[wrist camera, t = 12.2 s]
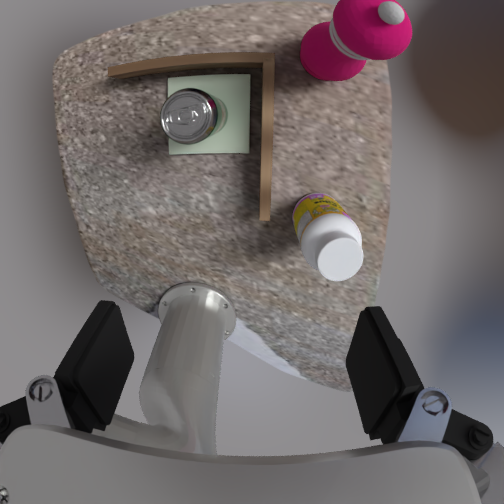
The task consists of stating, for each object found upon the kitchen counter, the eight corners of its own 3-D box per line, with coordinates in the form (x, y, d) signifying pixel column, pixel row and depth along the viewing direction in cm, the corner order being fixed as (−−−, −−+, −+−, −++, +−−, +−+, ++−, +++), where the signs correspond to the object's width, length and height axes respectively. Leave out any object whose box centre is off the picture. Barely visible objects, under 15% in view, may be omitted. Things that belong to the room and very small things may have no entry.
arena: (268, 210, 38) (269, 220, 34) (129, 210, 38) (117, 220, 34) (272, 59, 29) (274, 53, 26) (121, 70, 29) (108, 67, 25)
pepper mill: (342, 29, 27) (419, -30, 9) (359, 79, 30) (455, 60, 12) (288, 37, 28) (324, -35, 10) (305, 89, 31) (364, 63, 13)
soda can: (228, 134, 33) (216, 144, 22) (187, 136, 33) (157, 147, 22) (228, 94, 31) (216, 84, 20) (186, 96, 31) (155, 90, 20)
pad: (249, 152, 35) (249, 153, 34) (170, 154, 35) (169, 154, 34) (250, 74, 30) (250, 74, 30) (169, 78, 30) (168, 78, 30)
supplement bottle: (348, 204, 37) (386, 246, 26) (324, 245, 40) (349, 298, 29) (305, 182, 36) (330, 216, 25) (282, 225, 39) (294, 276, 27)
